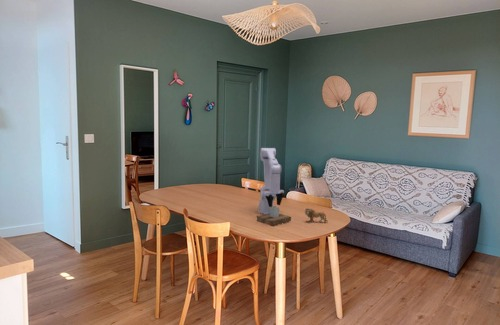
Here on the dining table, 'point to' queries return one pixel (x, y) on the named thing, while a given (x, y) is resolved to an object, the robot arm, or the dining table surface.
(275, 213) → the grey block
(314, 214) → the lion figurine
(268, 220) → the walnut plinth
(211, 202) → the dining table surface
